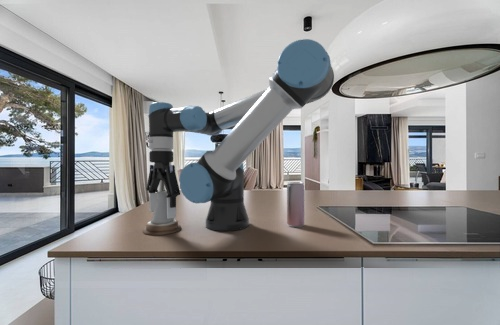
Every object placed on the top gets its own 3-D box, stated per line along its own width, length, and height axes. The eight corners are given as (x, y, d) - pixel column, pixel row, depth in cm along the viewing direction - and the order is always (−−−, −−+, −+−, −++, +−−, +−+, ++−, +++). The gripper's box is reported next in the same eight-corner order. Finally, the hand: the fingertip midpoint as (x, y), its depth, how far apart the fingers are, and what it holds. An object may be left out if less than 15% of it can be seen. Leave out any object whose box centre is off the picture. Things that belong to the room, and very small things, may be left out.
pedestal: (185, 225, 90) (185, 217, 90) (174, 235, 78) (174, 226, 78) (152, 225, 91) (151, 217, 91) (135, 235, 79) (135, 226, 79)
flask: (166, 225, 80) (166, 193, 80) (146, 224, 82) (146, 192, 82) (178, 219, 87) (177, 190, 87) (159, 218, 89) (158, 190, 89)
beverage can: (287, 223, 92) (286, 181, 92) (303, 223, 92) (303, 182, 92) (287, 227, 87) (286, 183, 86) (305, 227, 86) (304, 183, 86)
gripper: (136, 151, 91) (136, 210, 91) (167, 148, 72) (168, 223, 73) (156, 151, 96) (157, 207, 96) (191, 149, 78) (191, 218, 78)
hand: (162, 214), depth 84 cm, fingers open, 13 cm apart
